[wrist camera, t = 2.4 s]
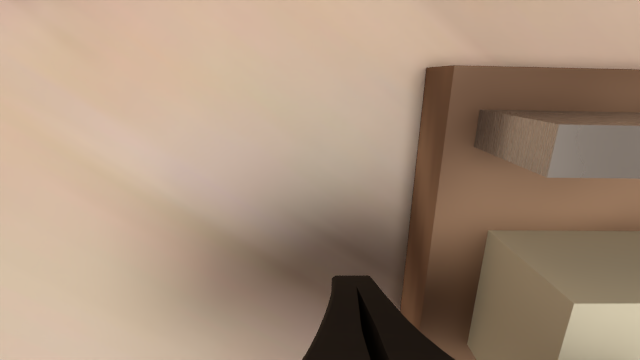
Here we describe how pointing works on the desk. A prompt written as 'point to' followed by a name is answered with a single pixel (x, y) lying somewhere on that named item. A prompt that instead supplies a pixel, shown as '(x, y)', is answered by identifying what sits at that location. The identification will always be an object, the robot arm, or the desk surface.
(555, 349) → the sage block
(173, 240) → the desk surface
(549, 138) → the tunnel walls
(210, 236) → the desk surface
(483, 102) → the tunnel board
